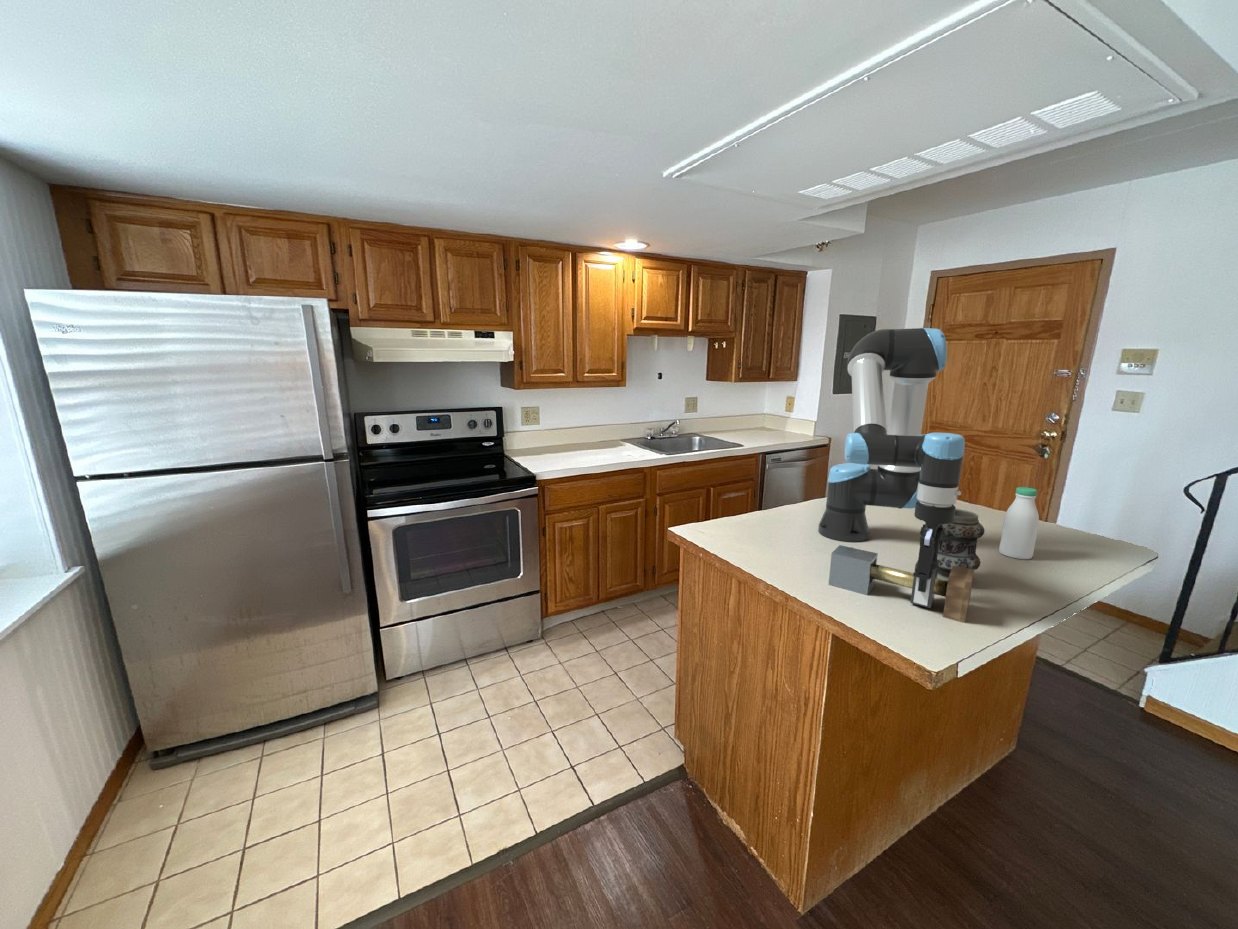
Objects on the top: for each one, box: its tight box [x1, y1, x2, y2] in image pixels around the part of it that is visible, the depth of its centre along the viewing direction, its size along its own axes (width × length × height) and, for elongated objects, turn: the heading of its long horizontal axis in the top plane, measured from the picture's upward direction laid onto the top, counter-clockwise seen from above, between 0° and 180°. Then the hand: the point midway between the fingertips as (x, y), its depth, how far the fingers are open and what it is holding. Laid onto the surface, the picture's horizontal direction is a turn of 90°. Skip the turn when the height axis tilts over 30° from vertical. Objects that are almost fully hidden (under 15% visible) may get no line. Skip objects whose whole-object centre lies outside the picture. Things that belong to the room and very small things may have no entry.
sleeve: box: [828, 544, 879, 596], centre depth 122 cm, size 9×7×8 cm
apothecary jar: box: [937, 508, 986, 581], centre depth 125 cm, size 12×12×18 cm
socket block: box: [942, 565, 975, 623], centre depth 109 cm, size 4×8×10 cm, turn 140°
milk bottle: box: [998, 486, 1040, 560], centre depth 140 cm, size 8×8×20 cm
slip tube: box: [870, 560, 948, 609], centre depth 114 cm, size 20×5×10 cm, turn 50°
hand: (922, 598), depth 113 cm, fingers closed on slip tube, 5 cm apart
